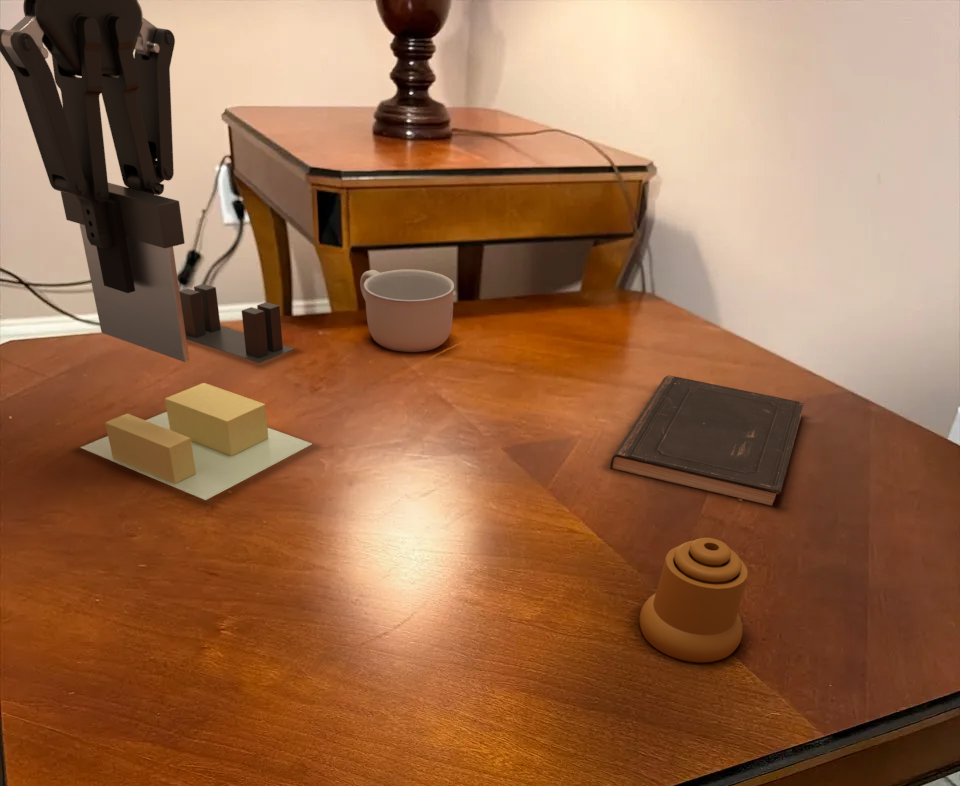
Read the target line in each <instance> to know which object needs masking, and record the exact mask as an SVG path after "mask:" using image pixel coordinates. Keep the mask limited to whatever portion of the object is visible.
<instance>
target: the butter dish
mask: <svg viewBox="0 0 960 786" xmlns="http://www.w3.org/2000/svg"><path fill="white" fill-rule="evenodd" d="M144 420H145V419H144ZM145 421H148V422H151V423H153V424H156V425H158V426H161V427H164V428H166V429H169V430H170V426H169V420H168V415H167V411H165V412H162V413H159V414H158V415H155V416H153V417H150V418H148V419H146V420H145ZM267 428H268V439H266V440H264V441H262V442H260V443H258V444H256V445H253V446H251V447H249V448H247V449H245V450H243V451H241V452H239V453H237V454H235V455H233V456H230V455H227V454H224V453H222V452H219V451H217V450H214V449H211V448H209V447H206V446H204V445H201V444H199V443H196V442H193V441H191V444H192V451H193V457H194V463H195V470H196V474H194V475H192V476H190V477H188V478H186V479H184V480H182V481H180V482H178V483H176V484H174V483H172V482H169V481H167V480H165V479H162V478H160V477H157V476H155V475H153V474H150V473H148V472H146V471H143V470H141V469H138V468H136V467H134V466H131V465H129V464H126V463H124V462H122V461H119V460H117V459H114V458H113V456H112V452H111V447H110V443H109V438H108V435H106V436H105V437H102V438H99V439H97V440H94V441H92V442H90V443H87V444H85V445H82V446H80V449H83V450H84V451H87V452H90V453H92V454H94V455H97V456H99V457H100V458H103V459H107V460H109V461H110V462H113V463H116V464H117V465H120V466H123V467H125V468H128V469H130V470H132V471H135V472H137V473H139V474H141V475H144V476H147V477H149V478H151V479H153V480H156V481H159V482H161V483H164V484H165V485H168V486H171V487H173V488H175V489H178V490H180V491H182V492H185V493H187V494H189V495H193V496H194V497H197V498H199V499H202V500H204V501H207V500H209V499H211V498H213V497H215V496H217V495H219V494H220V493H222V492H224V491H226V490H228V489H230V488H232V487H234V486H236V485H238V484H239V483H241V482H243V481H245V480H248V479H249V478H251V477H252V476H255V475H257V474H259V473H261V472H262V471H264V470H266V469H268V468H270V467H272V466H274V465H276V464H278V463H279V462H281V461H283V460H285V459H287V458H289V457H290V456H293V455H295V454H297V453H299V452H300V451H302V450H304V449H306V448H308V447H310V446H311V445H313V443H312V442H309V441H307V440H303V439H301V438H298V437H296V436H292V435H290V434H287V433H284V432H281V431H279V430H276V429H273V428H271V427H268V426H267Z"/></svg>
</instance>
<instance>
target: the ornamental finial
mask: <svg viewBox="0 0 960 786" xmlns="http://www.w3.org/2000/svg"><path fill="white" fill-rule="evenodd" d="M748 574H749V573H748V568H747V565H746V564H745V562H744V561H743V560H742V559H741V558H740V557H739V555H738V554H737V553H736V552H735V551H734V550H733V549H731V548H730V547H729V546H728V545H727V544H726V543H725V542H724V541H721V540H719V539H716V538H713V537H700V538H697V539H694V540H689V541H686V542H684V543H682V544H680V545H676V546H675V547H672V549H670V550H669V551H668V552H667V553H666V556H665V559H664V563H663V567H662V570H661V574H660V577H659V580H658V585H657V587H656V592H655V593H654V594H652V595H651V596H649V597H648V598H647V599H646V601H645V602H644V604H643V605H642V606H641V609H640V613H639V628H640V631H641V634H642V636H643V637H644V639H645V640H646V641H647V643H649V644H650V645H651V646H652V647H653V648H655V649H656V650H657V651H659V652H660V653H662V654H664V655H666V656H669V657H671V658H674V659H677V660H680V661H684V662H690V663H703V664H704V663H712V662H718V661H721V660H724V659H726V658H727V657H729V656H730V655H731V654H733V653H734V651H735V650H737V648H738V646H739V645H740V643H741V640H742V637H743V630H744V629H743V622H742V619H741V617H740V615H739V609H740V606H741V601H742V598H743V594H744V590H745V586H746V582H747V579H748Z"/></svg>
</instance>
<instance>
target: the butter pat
mask: <svg viewBox="0 0 960 786" xmlns="http://www.w3.org/2000/svg"><path fill="white" fill-rule="evenodd" d="M104 424H105V428H106V429H105V430H106V432H107V436H108V438H109V443H110V447H111V452H112V456H113V458H114V459H117V460H119V461H122V462H124V463H126V464H129V465H131V466H134V467H136V468H138V469H141V470H143V471H146V472H148V473H150V474H153V475H155V476H157V477H160V478H162V479H165V480H167V481H169V482H172V483H174V484H176V483H178V482H180V481H182V480H184V479H186V478H188V477H190V476H192V475H194V474H196V470H195V463H194V457H193V451H192V444H191V438H189V437H187V436H184V435H182V434H179V433H177V432H174V431H171V430H169V429H166V428H164V427H161V426H158V425H156V424H153V423H151V422H148V421H145V419H143V418H140V417H138V416H136V415H135V416H134V415H132V414H131V413H125V414H122V415H119V416H117V417H115V418H112V419H109V420H108V421H105V422H104Z"/></svg>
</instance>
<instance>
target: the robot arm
mask: <svg viewBox="0 0 960 786" xmlns="http://www.w3.org/2000/svg"><path fill="white" fill-rule="evenodd" d="M22 6H23V15H24V17H23V18H22V19H21V20H20V21H18V22H17V23H15V25H14V26H13V27H11V28H9V29H4V28H0V54H1V55H2V57H3V58H4V60H5V62H6V63H7V64H8V66H9V68H10V69H11V71H12V72H13V75H14V78H15V82H16V84H17V88H18V90H19V94H20V97H21V99H22V103H23V105H24V109H25V112H26V114H27V118H28V120H29V124H30V127H31V130H32V132H33V136H34V139H35V141H36V146H37V147H38V152H39V154H40V158H41V160H42V164H43V166H44V169H45V172H46V175H47V178H48V181H49V184H50V186H51V188H52V189H53V190H55V191H58V192H60V193H61V192H65V193H68V194H72V195H74V196H76V197H77V198H78V199H79V201H80V204H81V209H82V214H83V219H84V223H85V229H86V234H87V238H88V240H89V242H90V244H91V245H94V246H96V247H97V252H98V257H99V262H100V267H101V272H102V278H103V283H104V286H107V287H110V288H113V289H116V290H119V291H122V292H125V293H130V292H134V291H135V287H134V281H133V275H132V269H131V264H130V258H129V252H128V246H127V241H126V236H125V231H124V225H123V219H122V213H121V208H120V202H119V201H116V200H113V199H109V198H108V197H109V189H108V183H109V181H108V172H107V161H106V152H105V151H106V150H105V142H104V131H103V122H102V112H101V104H100V95H101V97H102V101H103V106H104V109H105V113H106V117H107V122H108V126H109V129H110V133H111V138H112V142H113V145H114V150H115V155H116V159H117V162H118V166H119V170H120V174H121V178H122V182H123V185H124V187H127V188H131V189H135V190H139V191H143V192H146V193H150V194H154V195H158V196H161V195H162V194H163V192H164V190H165V184H164V183H163V182H164V181H168V182H169V181H171V180H172V179H173V177H174V174H175V169H174V152H173V151H174V146H173V122H172V121H173V120H172V119H173V118H172V95H171V71H170V69H171V63H172V58H173V54H174V50H175V49H174V48H175V44H176V39H175V38H176V37H175V35H174V33H173V32H172V30H170V29H168V28H167V29H166V28H160V27H157V26H155V25H154V24H153V23H151V22H150V21H149V20H147V19H146V18H145V17H144V14H143V13H144V12H143V10H142V6H141V5H140V3H139V1H138V0H23V5H22ZM49 54H50V55H51V60H52V68H53V72H52V70H51V68H50V65H49V64H48V62H47V59H48V57H49ZM58 88H59V90H60V93H59V90H58ZM60 95H61V97H60Z"/></svg>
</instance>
